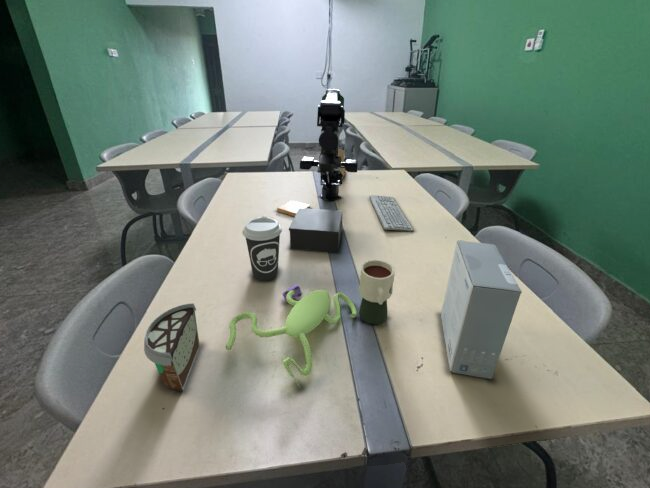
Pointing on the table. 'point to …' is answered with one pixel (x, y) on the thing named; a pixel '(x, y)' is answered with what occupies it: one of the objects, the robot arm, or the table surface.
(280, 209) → the toast
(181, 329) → the food container
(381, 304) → the character mug
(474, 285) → the hard drive box
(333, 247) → the open black box
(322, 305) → the figurine
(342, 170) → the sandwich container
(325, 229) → the lid
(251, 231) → the coffee cup
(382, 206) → the keyboard
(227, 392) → the table surface
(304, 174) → the table surface
